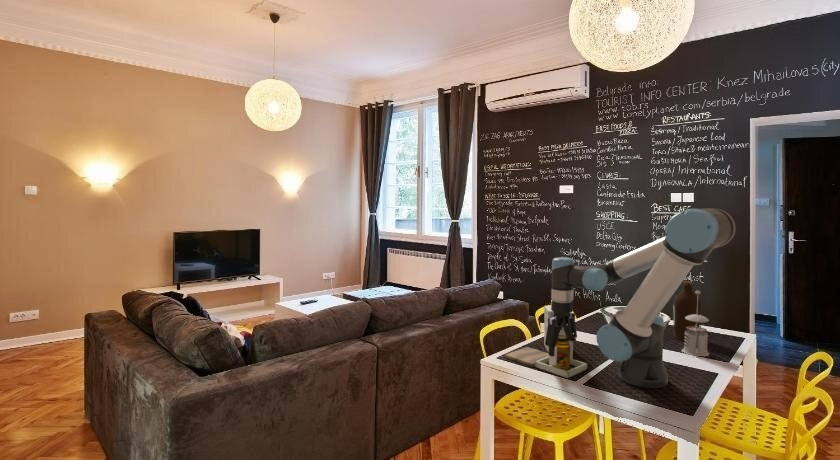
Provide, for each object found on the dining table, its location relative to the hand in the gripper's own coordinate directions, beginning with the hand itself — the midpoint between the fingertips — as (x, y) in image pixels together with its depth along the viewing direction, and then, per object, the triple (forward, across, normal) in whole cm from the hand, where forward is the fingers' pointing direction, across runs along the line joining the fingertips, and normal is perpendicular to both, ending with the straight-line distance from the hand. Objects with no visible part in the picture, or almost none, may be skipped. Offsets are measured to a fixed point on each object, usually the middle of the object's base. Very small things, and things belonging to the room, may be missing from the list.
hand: (561, 360), depth 167 cm
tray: (+3, 0, 0) cm, 3 cm away
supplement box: (+3, -17, -13) cm, 22 cm away
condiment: (+3, 0, 0) cm, 3 cm away
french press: (+3, -53, +26) cm, 59 cm away
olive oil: (+3, -70, +16) cm, 72 cm away
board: (+3, 0, -14) cm, 14 cm away
